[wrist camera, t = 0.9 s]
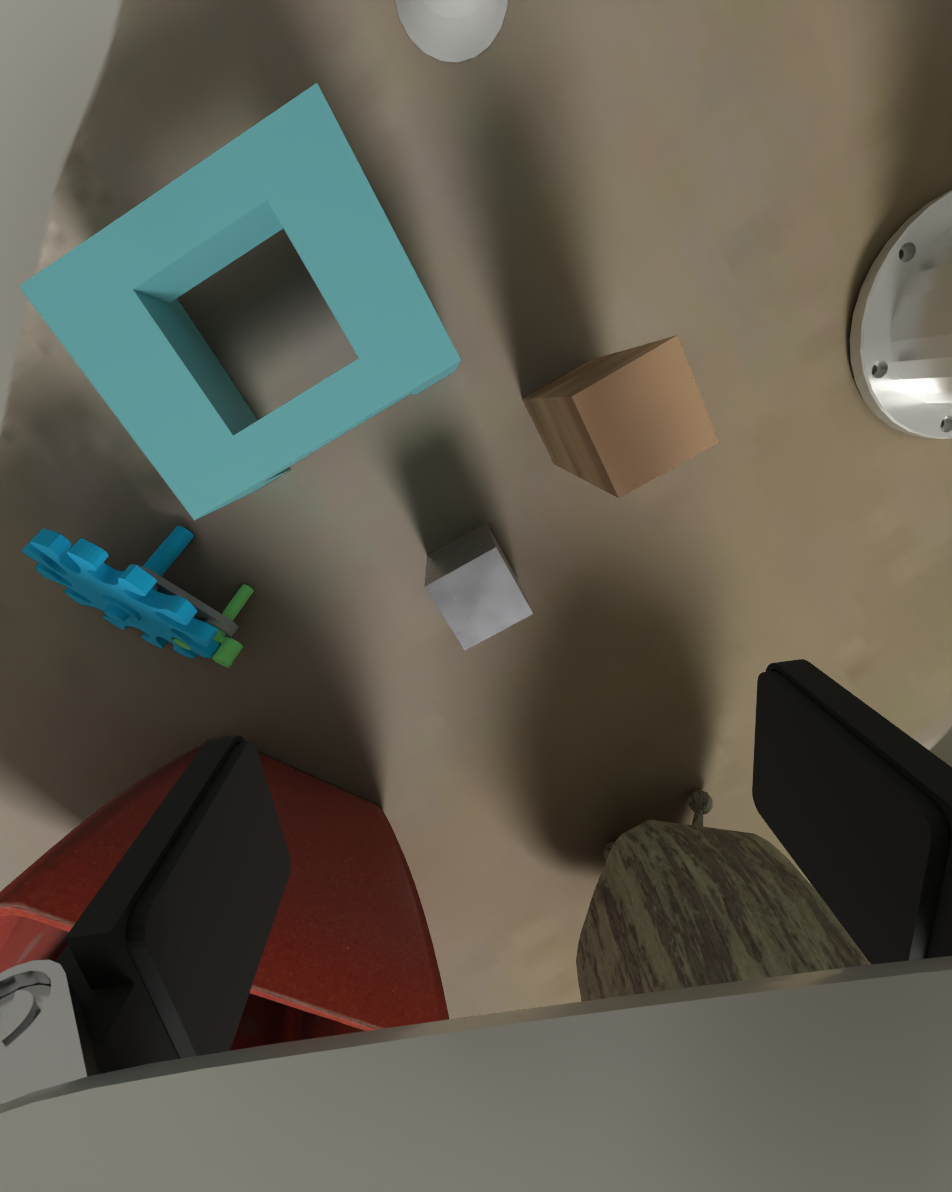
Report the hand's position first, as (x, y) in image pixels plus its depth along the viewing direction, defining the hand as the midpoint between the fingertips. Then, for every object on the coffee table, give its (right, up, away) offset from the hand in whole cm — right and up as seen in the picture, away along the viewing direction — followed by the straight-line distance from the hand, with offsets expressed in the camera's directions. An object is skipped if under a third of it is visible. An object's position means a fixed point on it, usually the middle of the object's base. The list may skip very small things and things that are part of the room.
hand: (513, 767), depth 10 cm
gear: (-19, +4, +22) cm, 29 cm away
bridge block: (-10, +16, +18) cm, 27 cm away
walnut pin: (+5, +13, +21) cm, 25 cm away
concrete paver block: (-1, +5, +23) cm, 24 cm away
